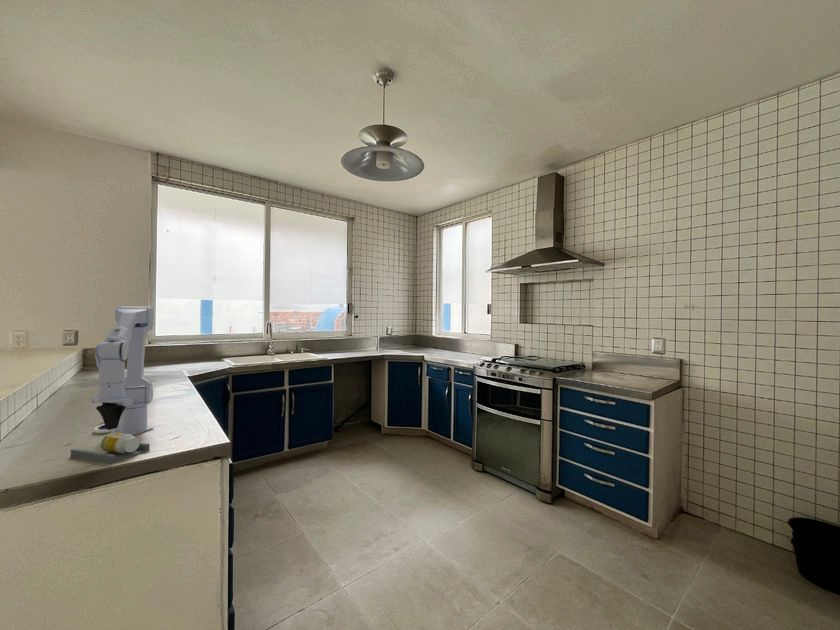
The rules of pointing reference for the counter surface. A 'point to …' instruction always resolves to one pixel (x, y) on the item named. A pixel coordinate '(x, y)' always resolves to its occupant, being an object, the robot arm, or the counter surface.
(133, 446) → the supplement bottle
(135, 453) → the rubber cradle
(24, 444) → the counter surface
